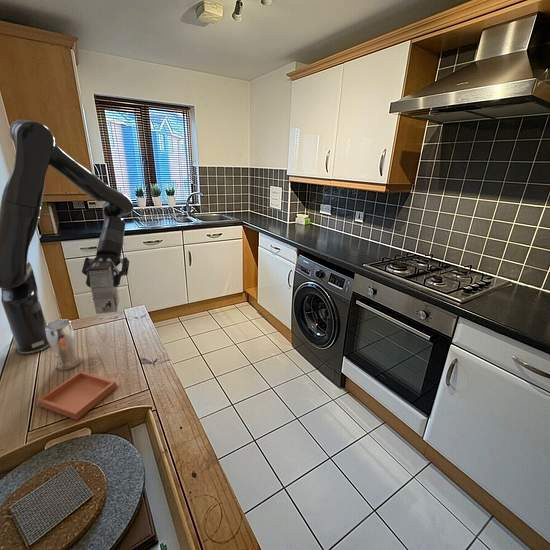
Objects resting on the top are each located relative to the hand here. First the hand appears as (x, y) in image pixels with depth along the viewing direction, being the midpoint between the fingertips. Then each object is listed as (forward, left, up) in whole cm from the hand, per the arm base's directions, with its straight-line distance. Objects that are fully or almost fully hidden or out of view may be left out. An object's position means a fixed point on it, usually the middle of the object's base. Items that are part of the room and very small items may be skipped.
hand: (102, 286), depth 97 cm
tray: (+12, -23, -23) cm, 34 cm away
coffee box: (-1, +1, -9) cm, 9 cm away
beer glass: (-4, -14, -23) cm, 27 cm away
